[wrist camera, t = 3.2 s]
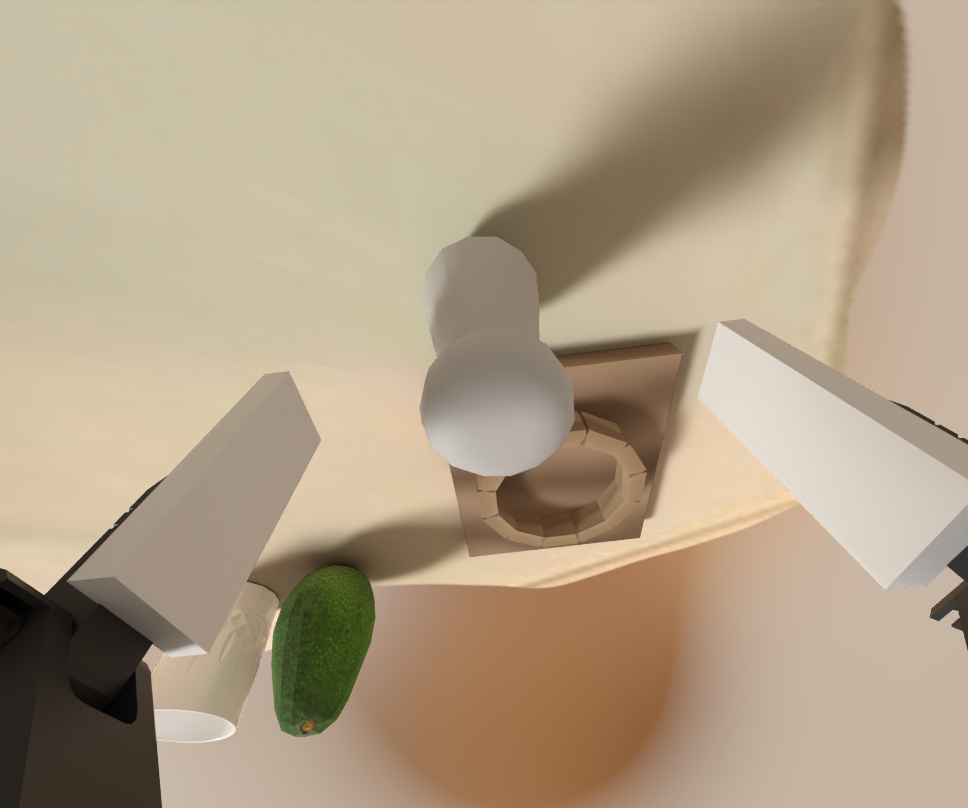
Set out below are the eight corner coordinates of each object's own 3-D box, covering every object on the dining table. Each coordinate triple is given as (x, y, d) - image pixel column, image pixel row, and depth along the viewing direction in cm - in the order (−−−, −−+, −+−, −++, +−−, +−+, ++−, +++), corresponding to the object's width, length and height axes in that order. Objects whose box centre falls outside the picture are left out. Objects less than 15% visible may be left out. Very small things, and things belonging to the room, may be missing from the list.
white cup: (278, 622, 39) (230, 745, 31) (197, 609, 37) (122, 739, 29) (292, 585, 35) (241, 715, 27) (202, 569, 33) (117, 705, 25)
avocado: (393, 586, 36) (368, 746, 27) (316, 595, 37) (263, 757, 27) (371, 539, 32) (331, 709, 22) (284, 549, 32) (205, 723, 22)
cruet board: (433, 371, 23) (429, 402, 20) (670, 342, 23) (700, 369, 20) (469, 542, 33) (470, 578, 30) (633, 523, 33) (649, 558, 30)
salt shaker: (412, 240, 18) (347, 355, 8) (523, 215, 18) (615, 298, 7) (442, 342, 22) (424, 522, 11) (536, 323, 21) (612, 490, 11)
